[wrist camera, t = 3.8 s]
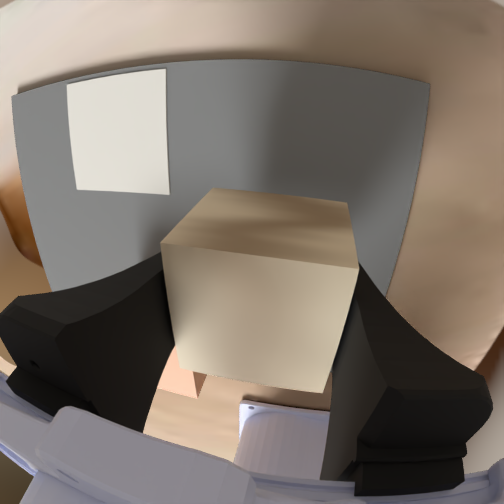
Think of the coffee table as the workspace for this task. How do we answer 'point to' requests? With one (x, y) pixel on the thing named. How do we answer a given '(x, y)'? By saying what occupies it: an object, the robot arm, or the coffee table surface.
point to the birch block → (260, 286)
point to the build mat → (212, 154)
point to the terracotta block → (180, 378)
